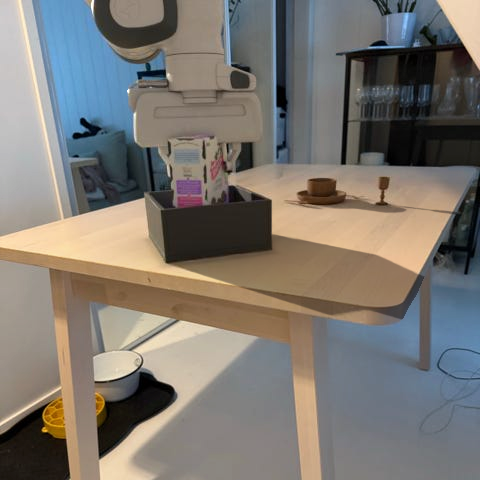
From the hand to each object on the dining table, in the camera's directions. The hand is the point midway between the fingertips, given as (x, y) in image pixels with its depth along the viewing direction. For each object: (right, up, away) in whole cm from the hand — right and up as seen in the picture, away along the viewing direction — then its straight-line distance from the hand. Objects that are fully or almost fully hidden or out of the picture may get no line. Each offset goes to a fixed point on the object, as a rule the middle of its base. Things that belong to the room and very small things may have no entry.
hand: (201, 174), depth 75 cm
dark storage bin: (0, -10, +5) cm, 11 cm away
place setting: (+28, +4, +34) cm, 45 cm away
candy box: (0, -10, +4) cm, 11 cm away
